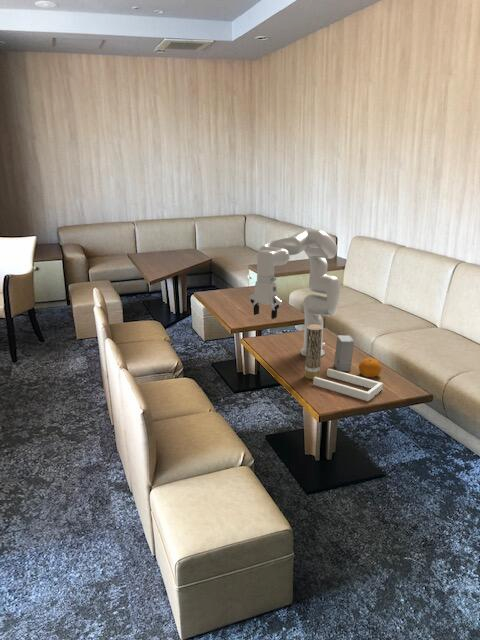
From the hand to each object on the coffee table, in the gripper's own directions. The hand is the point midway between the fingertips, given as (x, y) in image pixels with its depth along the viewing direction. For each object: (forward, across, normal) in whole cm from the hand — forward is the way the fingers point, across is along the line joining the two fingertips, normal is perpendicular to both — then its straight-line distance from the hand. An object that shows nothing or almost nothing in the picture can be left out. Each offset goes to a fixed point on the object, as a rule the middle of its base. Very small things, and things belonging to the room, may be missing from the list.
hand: (265, 316), depth 235 cm
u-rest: (+31, -33, -17) cm, 48 cm away
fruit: (+32, -36, -36) cm, 60 cm away
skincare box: (+32, -22, -36) cm, 52 cm away
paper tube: (+31, -16, -17) cm, 39 cm away
